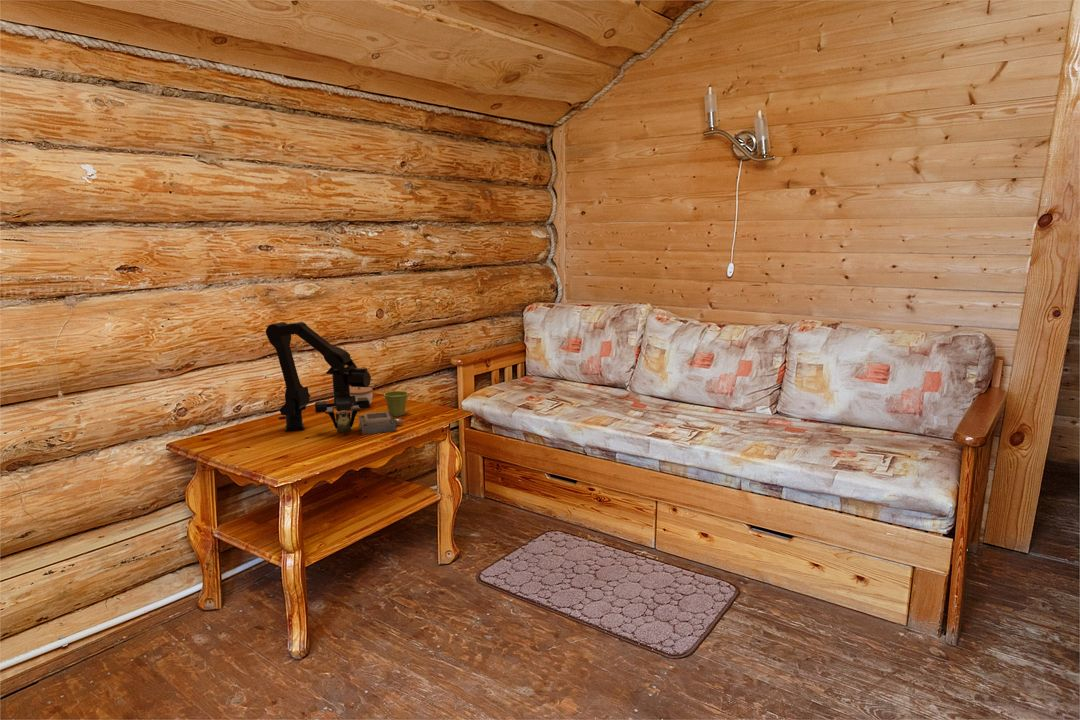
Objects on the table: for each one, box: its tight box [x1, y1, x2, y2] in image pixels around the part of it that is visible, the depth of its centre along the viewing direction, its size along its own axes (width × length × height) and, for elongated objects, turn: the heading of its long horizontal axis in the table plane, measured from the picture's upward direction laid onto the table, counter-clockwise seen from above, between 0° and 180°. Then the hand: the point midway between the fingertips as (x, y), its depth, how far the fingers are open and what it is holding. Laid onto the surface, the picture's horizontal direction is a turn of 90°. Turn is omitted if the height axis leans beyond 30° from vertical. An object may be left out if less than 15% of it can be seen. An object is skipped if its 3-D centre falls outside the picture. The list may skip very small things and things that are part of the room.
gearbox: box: [358, 411, 403, 436], centre depth 238 cm, size 14×15×4 cm
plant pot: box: [383, 390, 409, 417], centre depth 254 cm, size 9×9×9 cm
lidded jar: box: [350, 386, 374, 410], centre depth 265 cm, size 11×11×9 cm
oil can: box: [335, 410, 352, 435], centre depth 232 cm, size 7×5×8 cm
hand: (343, 427), depth 233 cm, fingers closed on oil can, 5 cm apart
